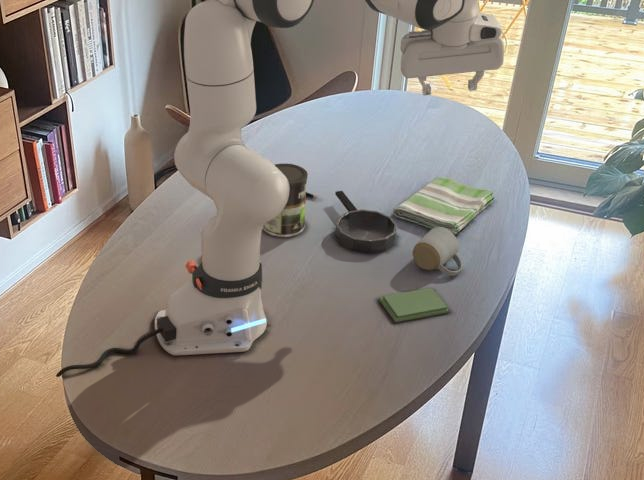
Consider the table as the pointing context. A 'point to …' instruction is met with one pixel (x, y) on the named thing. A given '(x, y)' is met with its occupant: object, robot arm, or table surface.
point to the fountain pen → (310, 195)
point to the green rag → (413, 305)
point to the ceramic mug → (437, 251)
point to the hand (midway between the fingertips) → (449, 91)
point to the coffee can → (291, 204)
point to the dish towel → (444, 205)
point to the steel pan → (364, 229)
